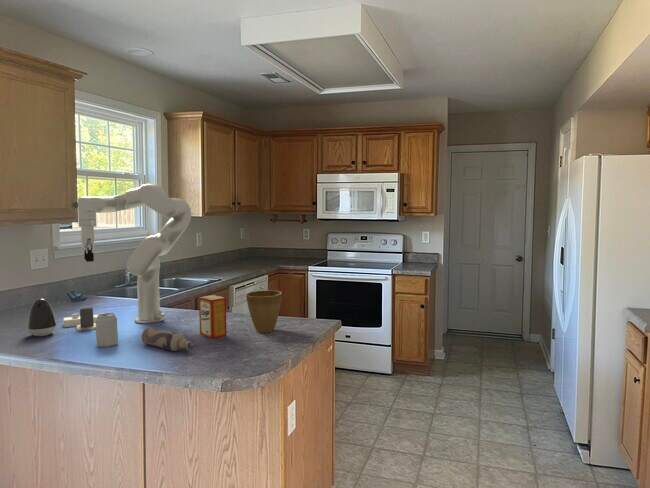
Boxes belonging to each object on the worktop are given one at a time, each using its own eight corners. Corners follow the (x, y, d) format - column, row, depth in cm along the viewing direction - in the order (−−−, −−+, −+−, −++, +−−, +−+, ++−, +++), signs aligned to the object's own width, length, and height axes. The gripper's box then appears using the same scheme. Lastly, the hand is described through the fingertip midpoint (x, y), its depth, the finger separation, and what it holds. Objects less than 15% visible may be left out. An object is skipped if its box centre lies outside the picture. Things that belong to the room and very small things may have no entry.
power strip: (107, 319, 231) (107, 309, 230) (108, 322, 225) (108, 312, 225) (64, 324, 223) (63, 313, 222) (64, 327, 217) (63, 316, 217)
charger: (93, 324, 219) (92, 306, 218) (93, 326, 215) (92, 307, 215) (80, 325, 217) (79, 307, 216) (80, 327, 213) (79, 308, 212)
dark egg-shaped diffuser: (24, 339, 198) (22, 301, 197) (32, 332, 208) (30, 297, 207) (52, 337, 201) (50, 300, 200) (59, 330, 211) (57, 295, 210)
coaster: (96, 324, 221) (96, 323, 221) (97, 328, 214) (97, 326, 214) (76, 326, 218) (76, 325, 218) (77, 330, 211) (77, 329, 211)
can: (112, 341, 194) (110, 311, 193) (121, 344, 189) (120, 313, 188) (93, 345, 188) (91, 314, 187) (102, 349, 183) (101, 317, 182)
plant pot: (267, 324, 219) (267, 288, 218) (289, 330, 208) (288, 292, 207) (239, 330, 209) (238, 293, 207) (260, 337, 198) (260, 297, 197)
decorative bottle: (140, 346, 187) (139, 328, 187) (157, 341, 194) (156, 324, 193) (184, 357, 173) (183, 338, 172) (201, 352, 179) (200, 334, 178)
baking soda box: (200, 334, 203) (198, 296, 201) (213, 331, 207) (212, 294, 206) (212, 339, 196) (211, 299, 195) (226, 336, 200) (225, 297, 199)
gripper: (77, 223, 234) (79, 259, 235) (79, 224, 219) (81, 262, 220) (95, 222, 238) (96, 258, 239) (98, 224, 223) (99, 261, 224)
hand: (89, 260), depth 230 cm, fingers open, 9 cm apart
